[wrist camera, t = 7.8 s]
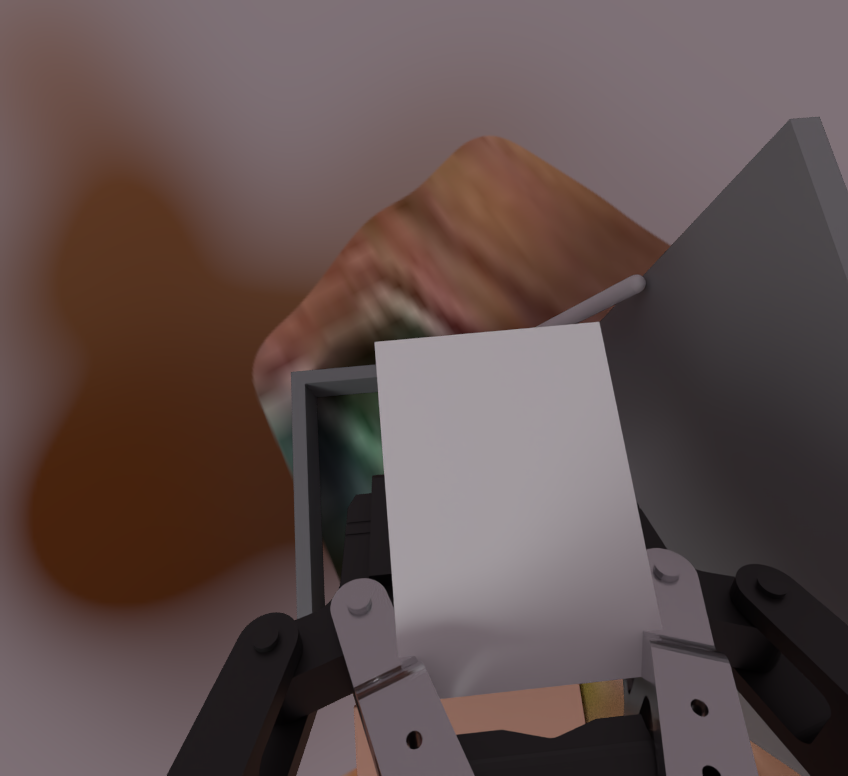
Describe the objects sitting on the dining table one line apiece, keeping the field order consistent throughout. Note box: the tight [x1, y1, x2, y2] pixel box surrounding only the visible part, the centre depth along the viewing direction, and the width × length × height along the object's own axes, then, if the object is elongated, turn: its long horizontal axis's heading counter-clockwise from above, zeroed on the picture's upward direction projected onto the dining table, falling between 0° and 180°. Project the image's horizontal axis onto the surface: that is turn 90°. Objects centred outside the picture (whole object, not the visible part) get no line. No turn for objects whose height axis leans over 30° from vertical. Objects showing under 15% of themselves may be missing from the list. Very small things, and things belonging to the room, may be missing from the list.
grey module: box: [375, 322, 662, 699], centre depth 14 cm, size 5×7×9 cm
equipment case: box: [291, 117, 848, 776], centre depth 20 cm, size 18×18×21 cm
